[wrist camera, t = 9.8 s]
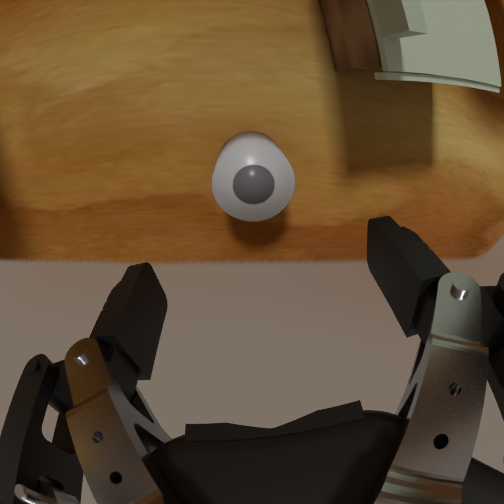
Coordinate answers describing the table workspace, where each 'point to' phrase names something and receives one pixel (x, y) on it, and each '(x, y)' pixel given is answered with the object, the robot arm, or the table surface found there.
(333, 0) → the condiment box
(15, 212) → the table surface
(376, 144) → the table surface
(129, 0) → the table surface
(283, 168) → the grey rounded cylinder
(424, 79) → the lid
